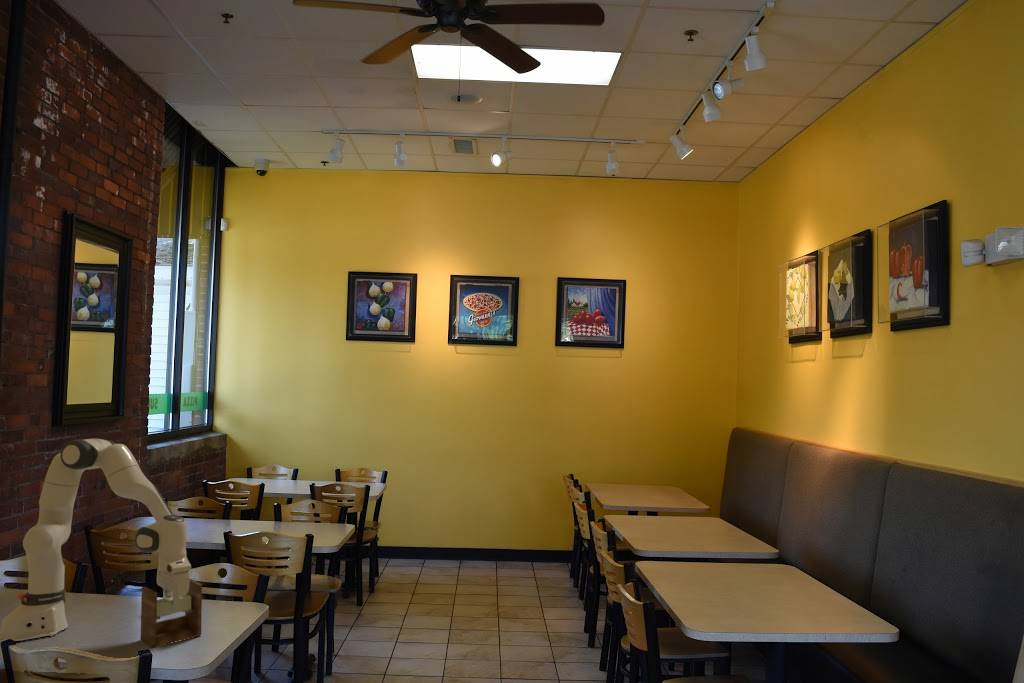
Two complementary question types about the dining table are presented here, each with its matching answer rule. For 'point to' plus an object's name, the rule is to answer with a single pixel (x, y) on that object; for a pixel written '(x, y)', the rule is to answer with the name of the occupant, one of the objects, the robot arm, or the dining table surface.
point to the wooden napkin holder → (174, 627)
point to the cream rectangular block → (167, 608)
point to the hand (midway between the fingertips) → (171, 602)
